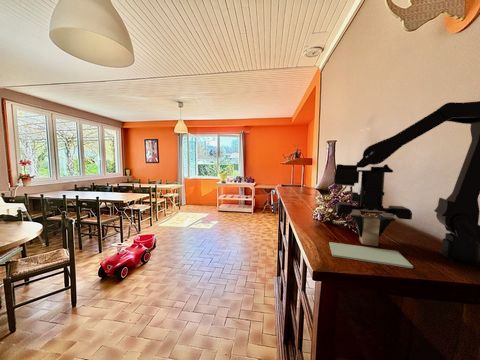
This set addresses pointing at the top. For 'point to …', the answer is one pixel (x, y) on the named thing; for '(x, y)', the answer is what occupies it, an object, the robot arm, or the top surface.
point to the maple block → (370, 230)
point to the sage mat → (369, 254)
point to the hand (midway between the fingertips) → (368, 237)
